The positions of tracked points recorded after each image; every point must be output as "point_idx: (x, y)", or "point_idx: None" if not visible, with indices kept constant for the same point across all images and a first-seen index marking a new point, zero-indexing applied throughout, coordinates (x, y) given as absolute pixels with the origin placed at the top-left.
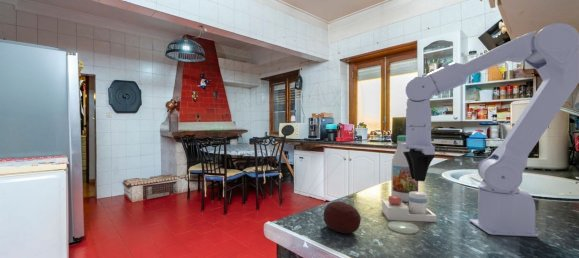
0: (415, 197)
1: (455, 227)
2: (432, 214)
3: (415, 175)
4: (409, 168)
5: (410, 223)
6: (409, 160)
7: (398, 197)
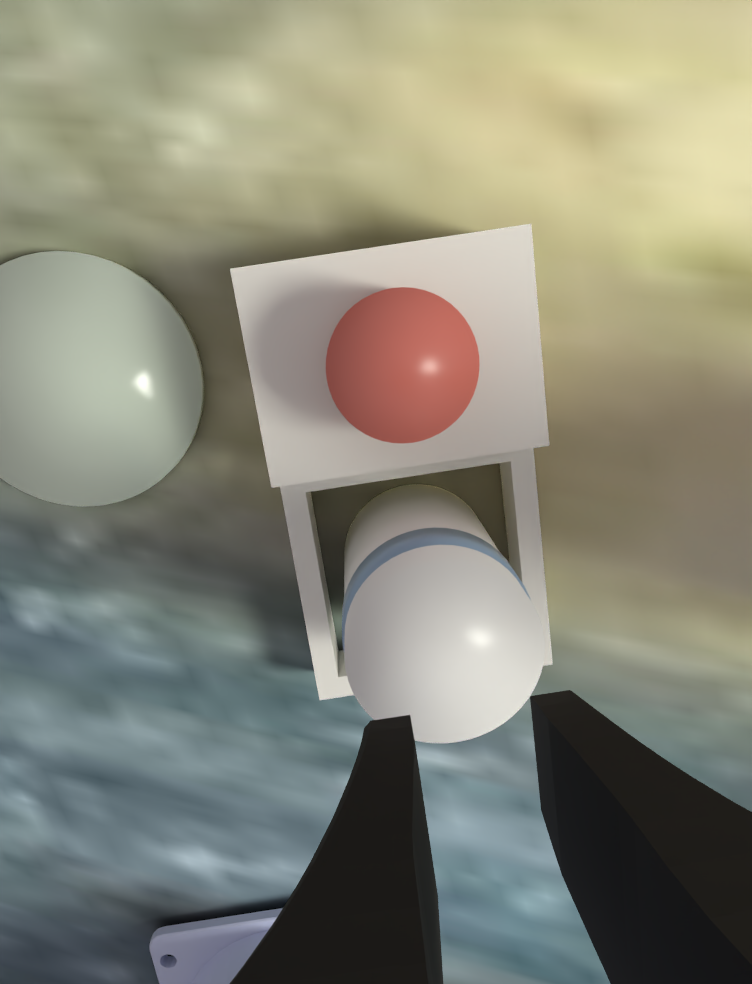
0: (354, 602)
1: (239, 770)
2: (342, 675)
3: (351, 774)
4: (654, 769)
5: (168, 460)
6: (697, 931)
7: (405, 411)
